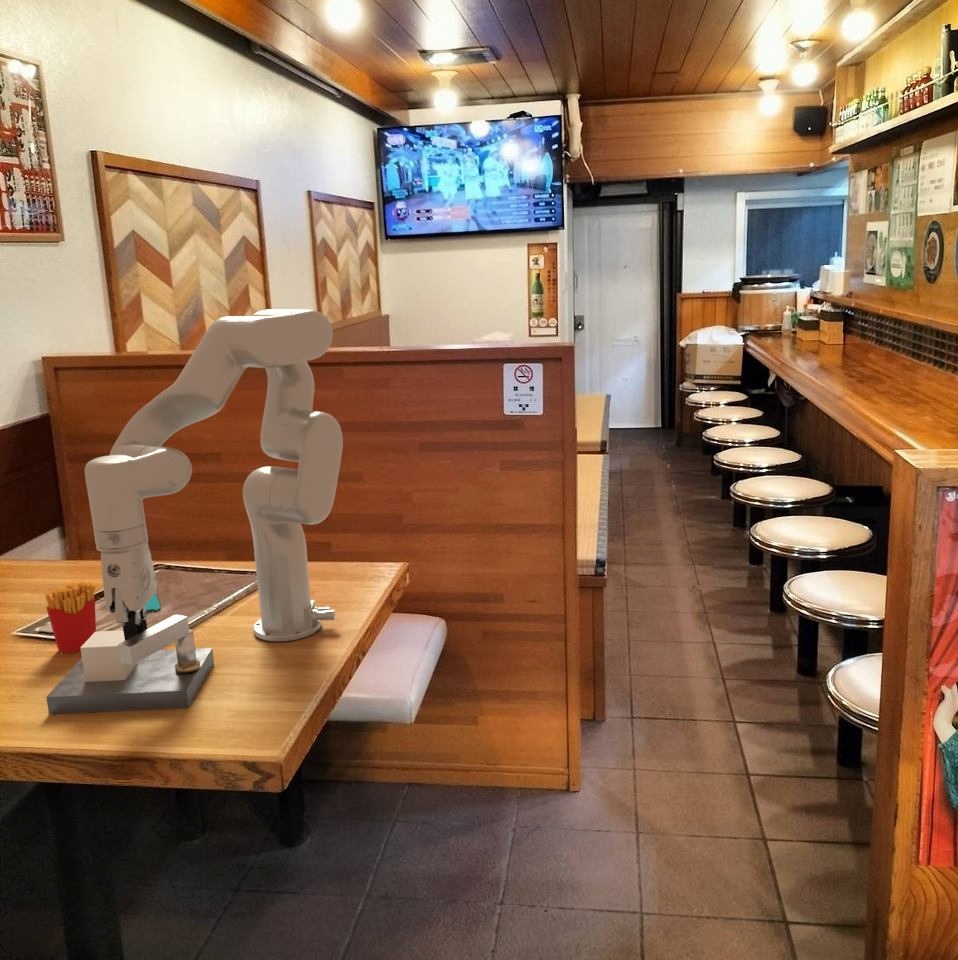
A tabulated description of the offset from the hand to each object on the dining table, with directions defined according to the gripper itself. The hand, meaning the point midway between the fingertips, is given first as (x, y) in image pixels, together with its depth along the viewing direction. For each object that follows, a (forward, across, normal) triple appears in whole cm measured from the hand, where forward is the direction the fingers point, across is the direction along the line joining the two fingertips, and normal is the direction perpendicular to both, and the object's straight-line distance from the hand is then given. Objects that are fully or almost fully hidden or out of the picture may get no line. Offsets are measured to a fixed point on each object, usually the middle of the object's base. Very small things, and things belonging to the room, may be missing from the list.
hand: (137, 644), depth 146 cm
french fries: (+10, +23, +20) cm, 32 cm away
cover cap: (+7, +5, +7) cm, 11 cm away
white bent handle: (+7, 0, -4) cm, 8 cm away
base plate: (+10, +5, +3) cm, 11 cm away
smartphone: (+11, +45, +16) cm, 49 cm away
